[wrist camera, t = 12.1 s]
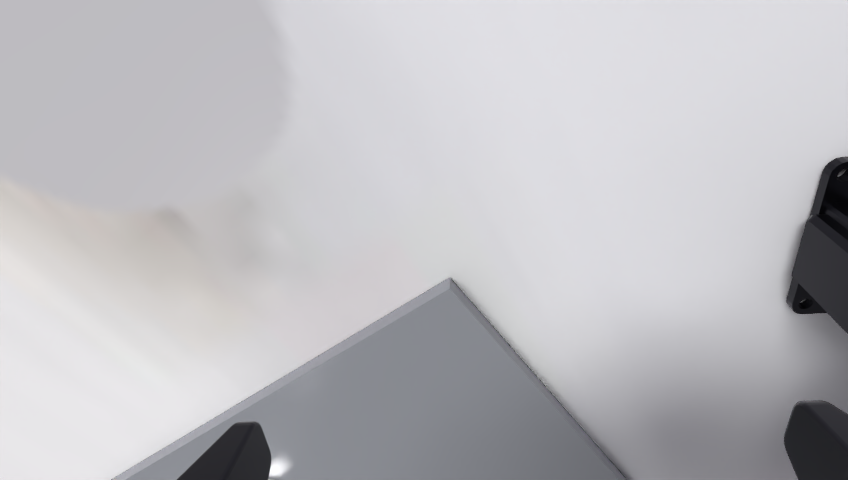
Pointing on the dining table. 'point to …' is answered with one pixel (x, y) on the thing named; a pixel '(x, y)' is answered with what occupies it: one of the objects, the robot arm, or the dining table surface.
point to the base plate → (407, 409)
